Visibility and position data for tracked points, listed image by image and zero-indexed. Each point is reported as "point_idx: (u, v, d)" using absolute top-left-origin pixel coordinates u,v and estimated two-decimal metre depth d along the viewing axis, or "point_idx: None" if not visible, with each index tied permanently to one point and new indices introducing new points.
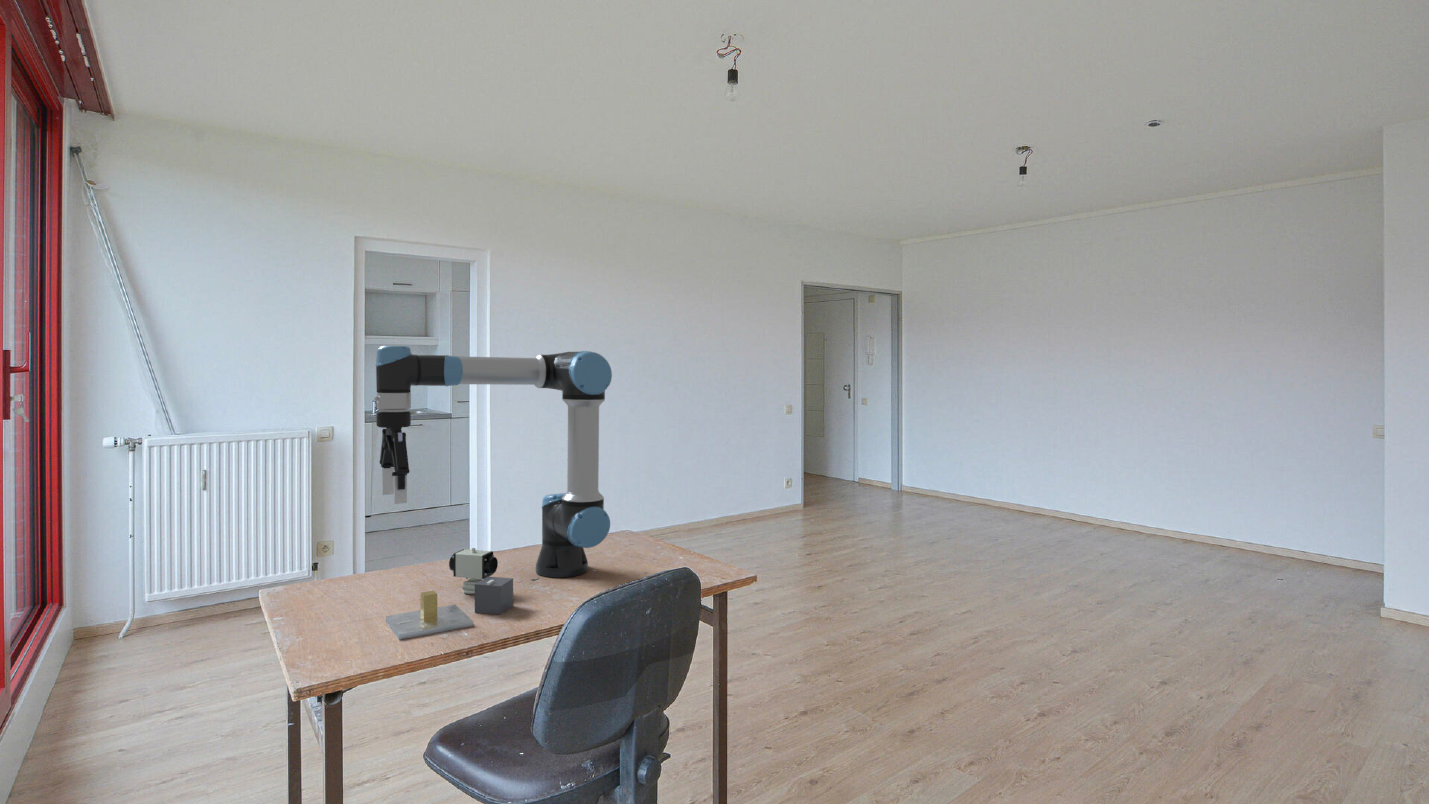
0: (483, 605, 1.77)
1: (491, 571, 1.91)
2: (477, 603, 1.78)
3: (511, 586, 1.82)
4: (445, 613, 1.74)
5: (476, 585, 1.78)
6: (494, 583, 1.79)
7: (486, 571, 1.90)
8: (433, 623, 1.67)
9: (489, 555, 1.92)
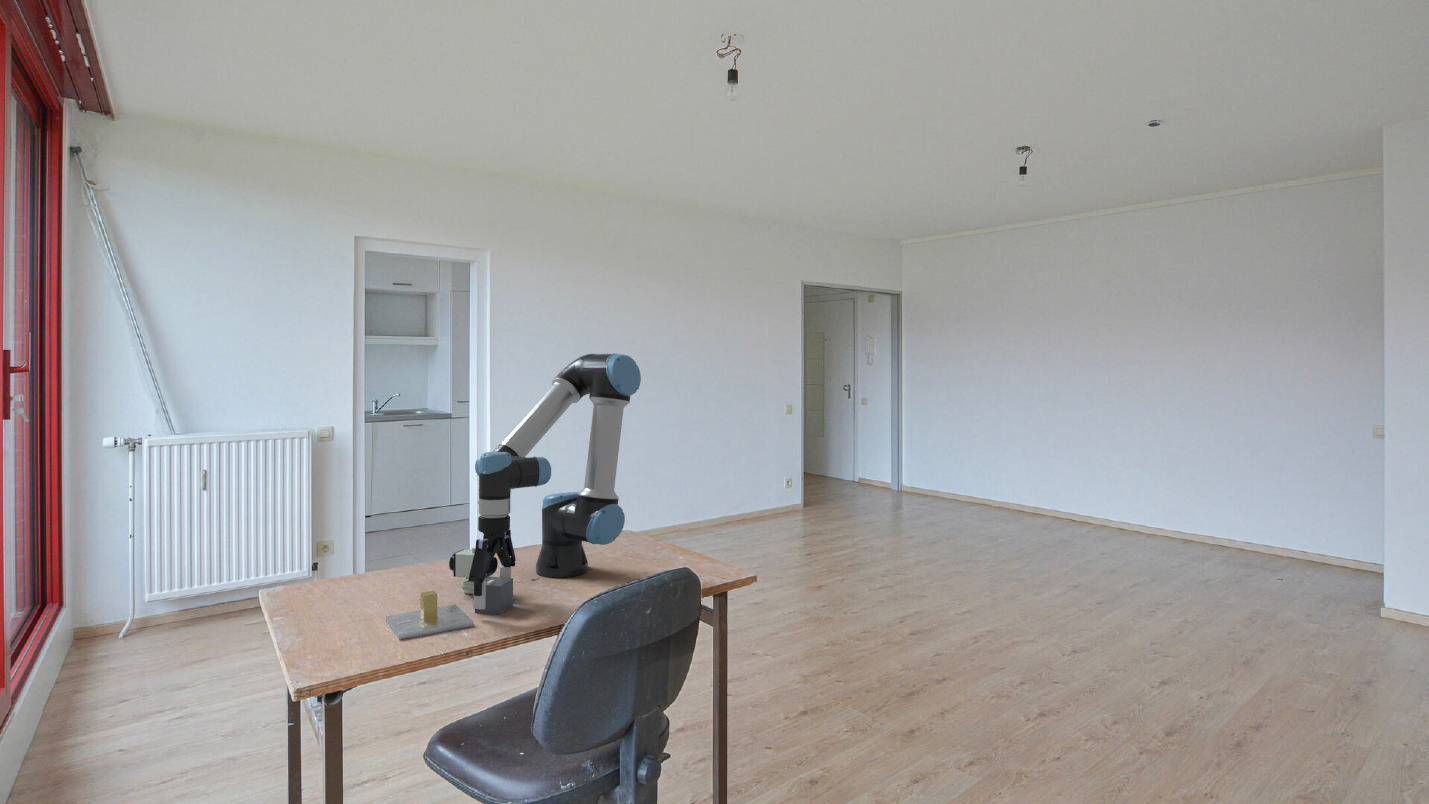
0: None
1: (491, 571, 1.91)
2: None
3: (511, 586, 1.82)
4: (445, 613, 1.74)
5: None
6: (494, 583, 1.79)
7: None
8: (433, 623, 1.67)
9: None
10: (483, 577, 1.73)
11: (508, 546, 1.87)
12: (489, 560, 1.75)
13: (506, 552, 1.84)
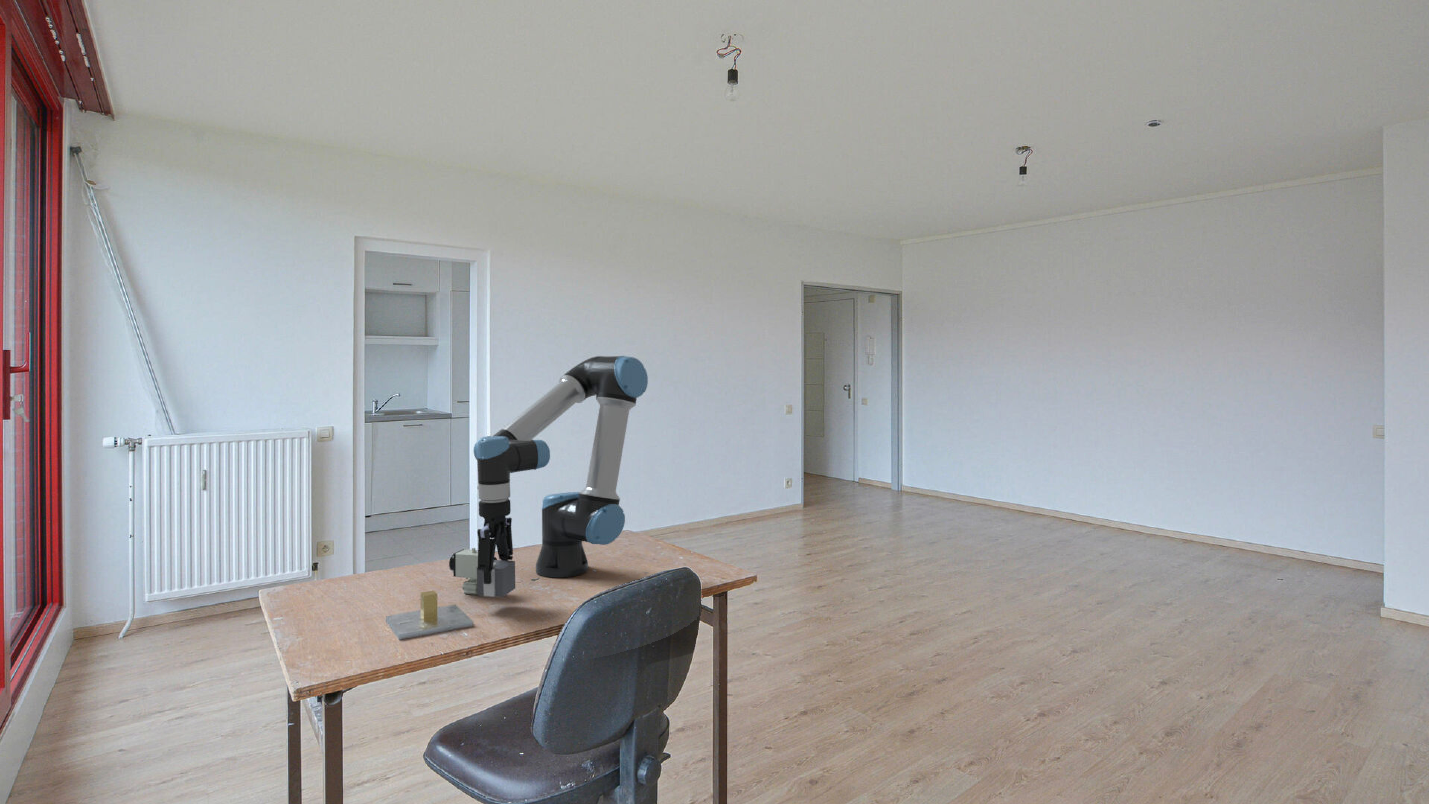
0: None
1: None
2: (479, 586, 1.78)
3: (513, 569, 1.83)
4: (445, 613, 1.74)
5: None
6: (496, 566, 1.79)
7: None
8: (433, 623, 1.67)
9: None
10: (491, 565, 1.76)
11: (507, 535, 1.85)
12: (494, 546, 1.77)
13: (505, 541, 1.83)
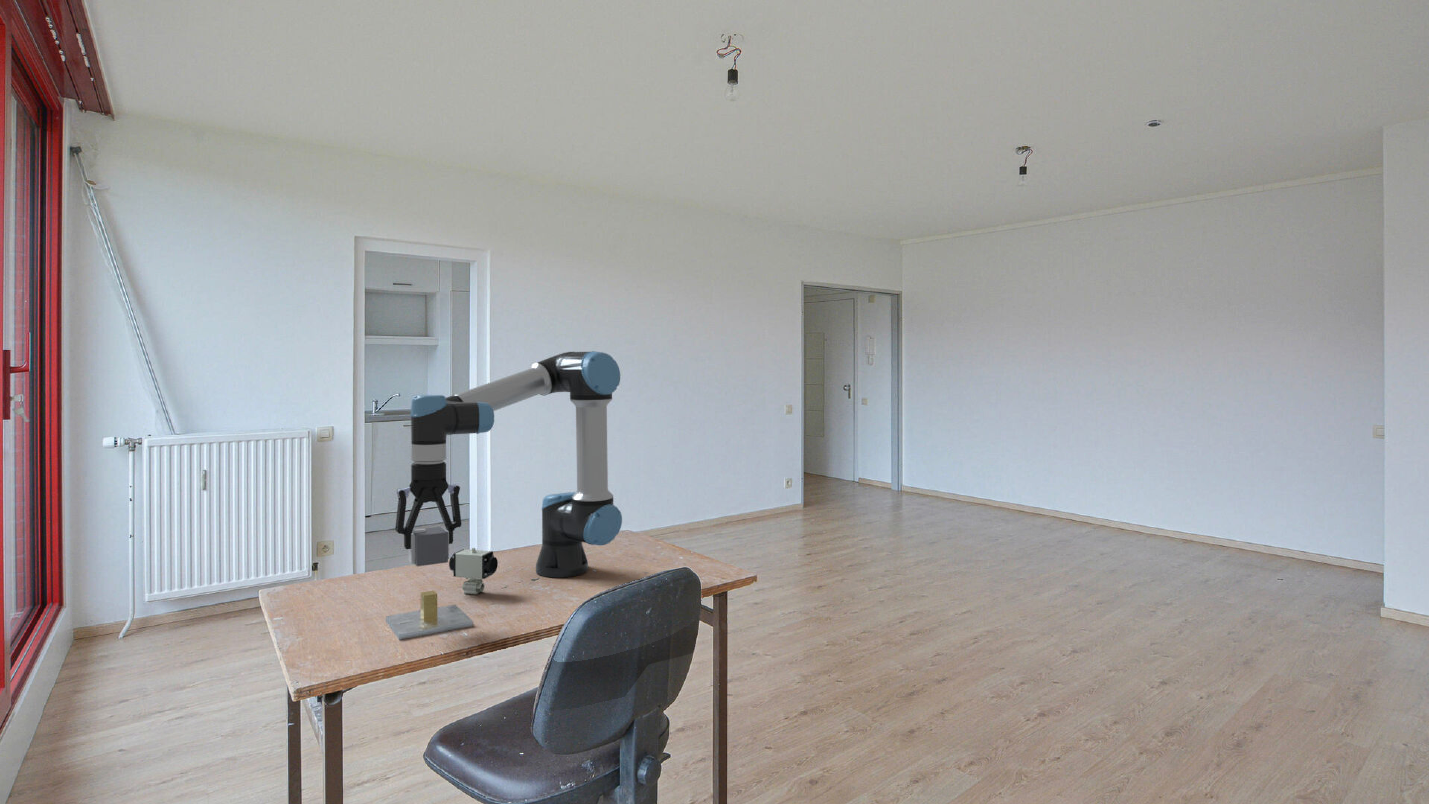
0: None
1: (491, 571, 1.91)
2: None
3: (444, 540, 1.68)
4: (445, 613, 1.74)
5: None
6: (422, 532, 1.67)
7: (486, 571, 1.90)
8: (433, 623, 1.67)
9: (489, 555, 1.92)
10: (409, 530, 1.65)
11: (453, 504, 1.71)
12: (416, 511, 1.66)
13: (443, 509, 1.69)
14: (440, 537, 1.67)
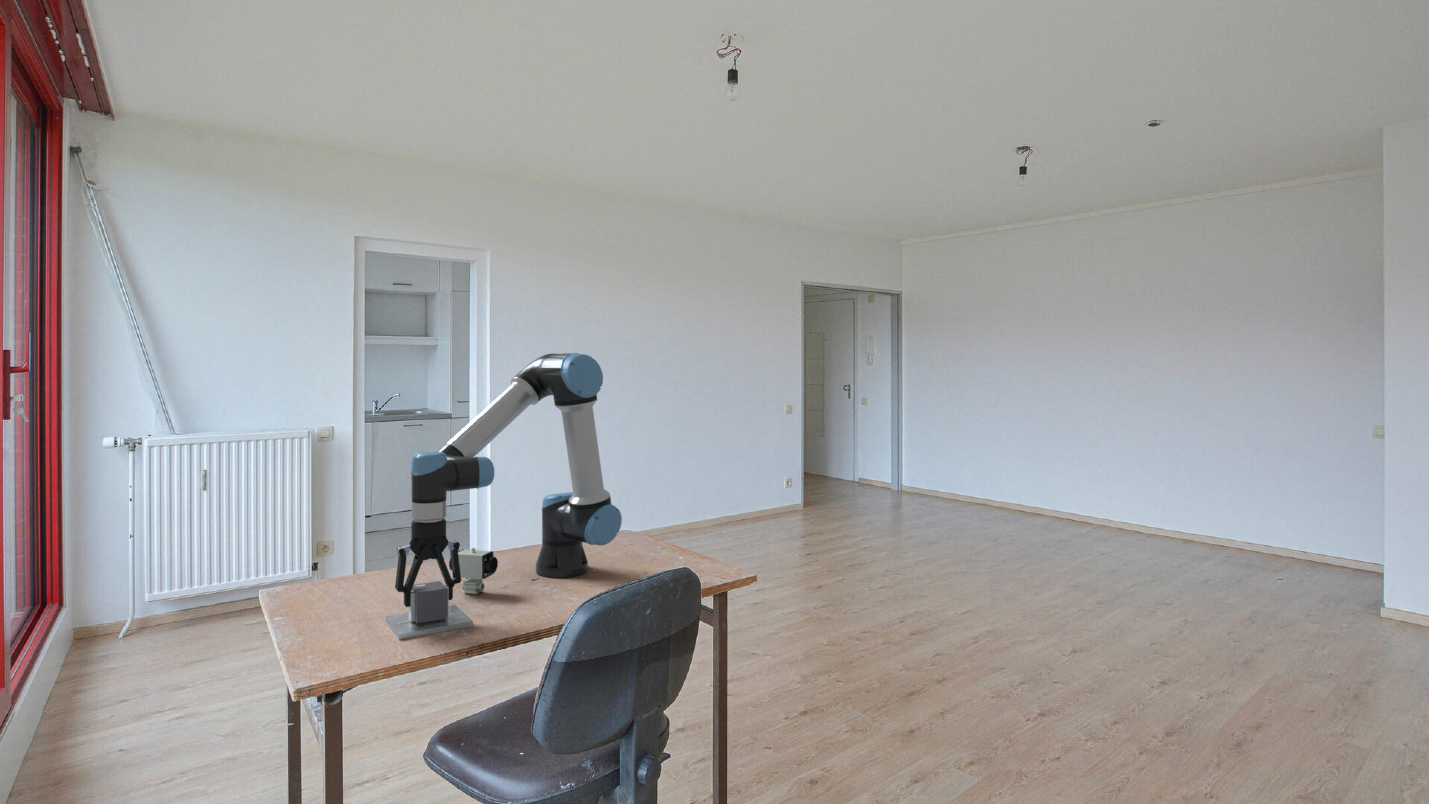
0: None
1: (491, 571, 1.91)
2: None
3: (443, 596, 1.68)
4: None
5: None
6: (421, 588, 1.68)
7: (486, 571, 1.90)
8: (433, 623, 1.67)
9: (489, 555, 1.92)
10: (409, 588, 1.66)
11: (453, 560, 1.72)
12: (416, 569, 1.66)
13: (443, 566, 1.70)
14: (440, 593, 1.68)
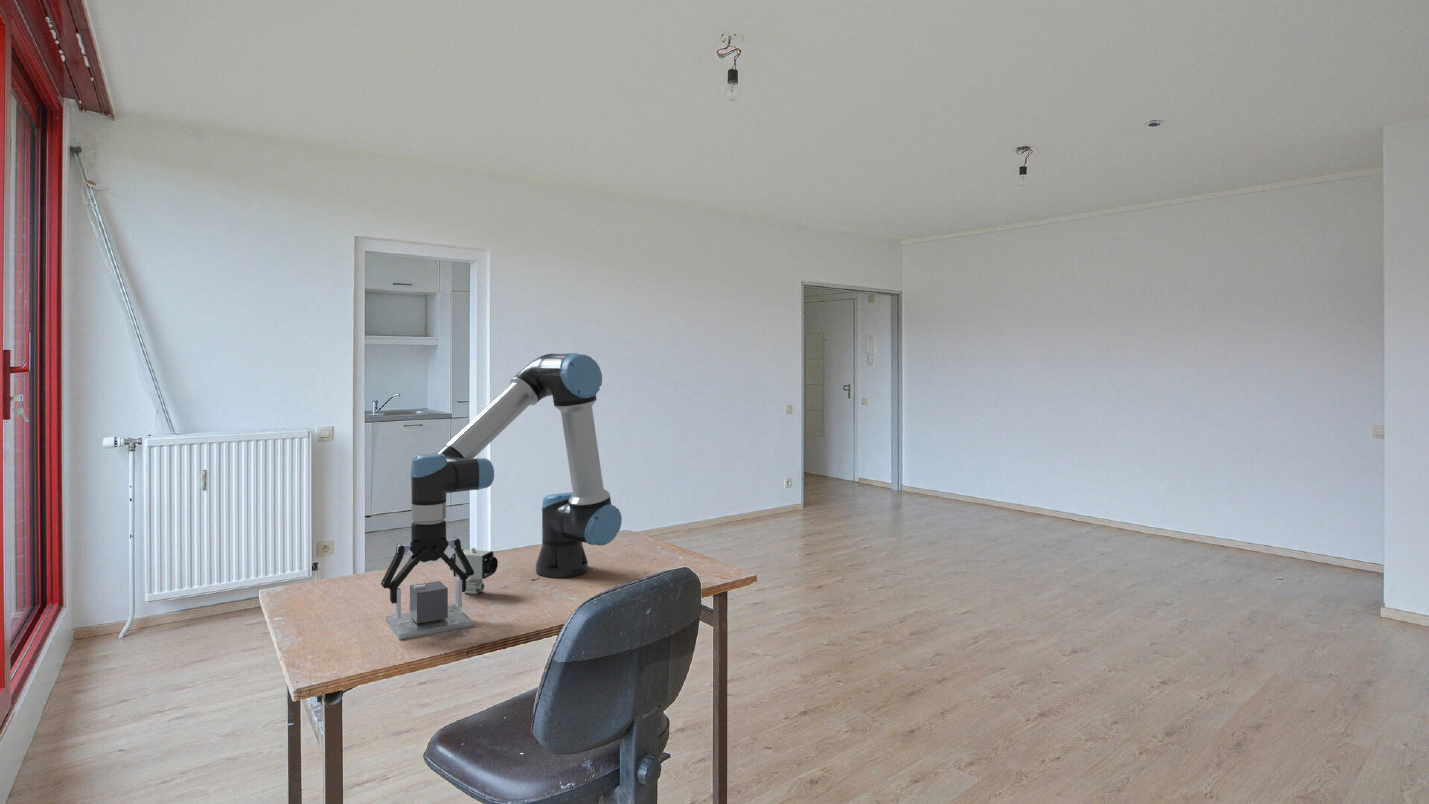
0: (412, 609, 1.69)
1: (491, 571, 1.91)
2: (410, 606, 1.70)
3: (443, 596, 1.68)
4: None
5: (410, 587, 1.70)
6: (421, 589, 1.68)
7: (486, 571, 1.90)
8: (433, 623, 1.67)
9: (489, 555, 1.92)
10: (396, 584, 1.64)
11: (459, 557, 1.73)
12: (409, 568, 1.66)
13: (450, 563, 1.71)
14: (440, 593, 1.68)
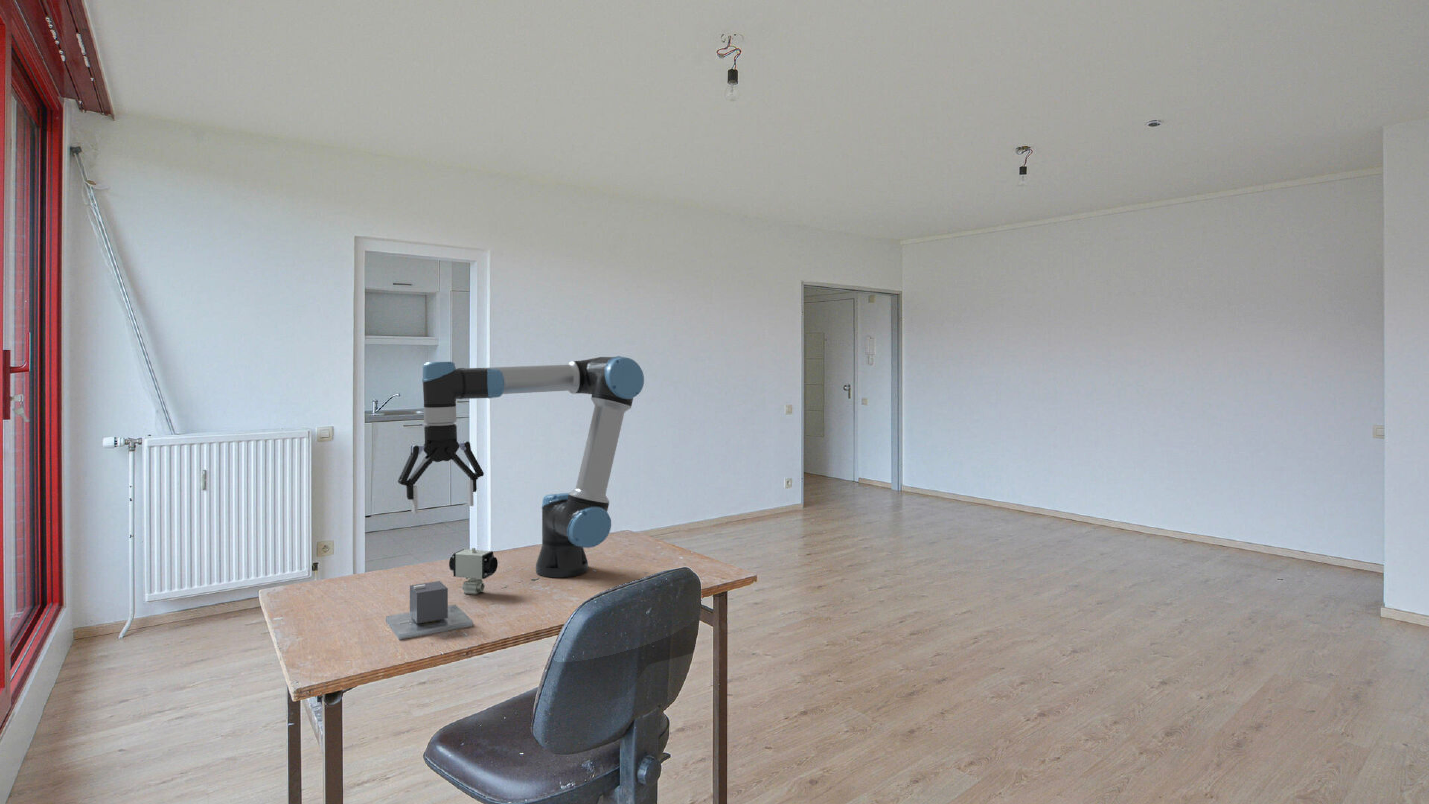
0: (412, 609, 1.69)
1: (491, 571, 1.91)
2: (410, 606, 1.70)
3: (443, 596, 1.68)
4: None
5: (410, 587, 1.70)
6: (421, 589, 1.68)
7: (486, 571, 1.90)
8: (433, 623, 1.67)
9: (489, 555, 1.92)
10: (412, 481, 1.76)
11: (469, 458, 1.84)
12: (424, 466, 1.77)
13: (462, 463, 1.83)
14: (440, 593, 1.68)
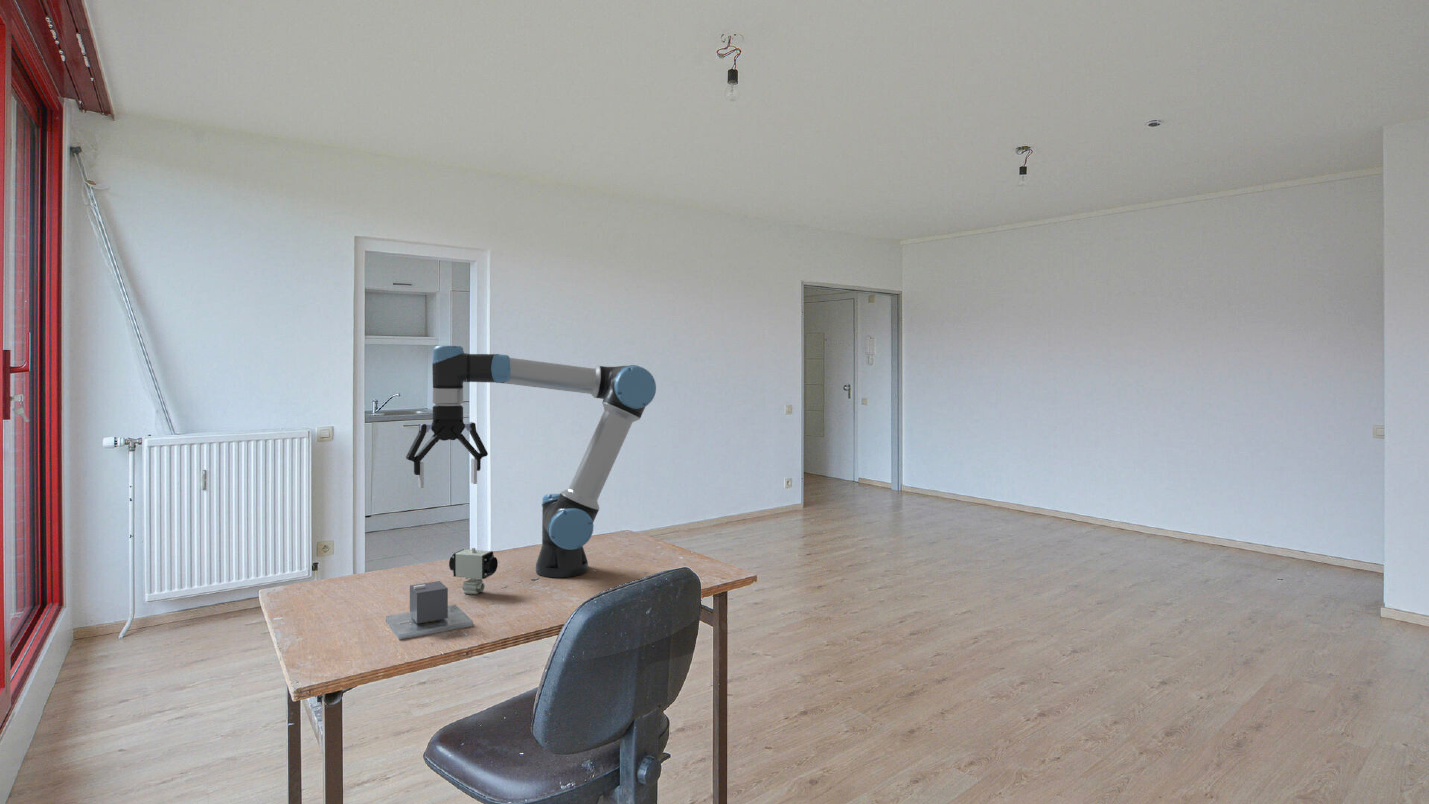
0: (412, 609, 1.69)
1: (491, 571, 1.91)
2: (410, 606, 1.70)
3: (443, 596, 1.68)
4: None
5: (410, 587, 1.70)
6: (421, 589, 1.68)
7: (486, 571, 1.90)
8: (433, 623, 1.67)
9: (489, 555, 1.92)
10: (419, 458, 1.86)
11: (474, 439, 1.94)
12: (431, 444, 1.87)
13: (467, 443, 1.93)
14: (440, 593, 1.68)
